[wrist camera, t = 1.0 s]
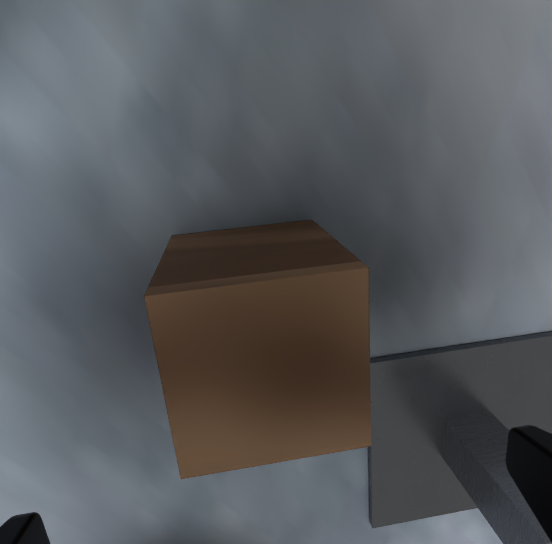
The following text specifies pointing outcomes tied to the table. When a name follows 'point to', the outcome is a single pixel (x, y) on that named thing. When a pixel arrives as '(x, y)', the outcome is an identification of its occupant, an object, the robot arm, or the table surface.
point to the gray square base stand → (457, 431)
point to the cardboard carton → (261, 346)
